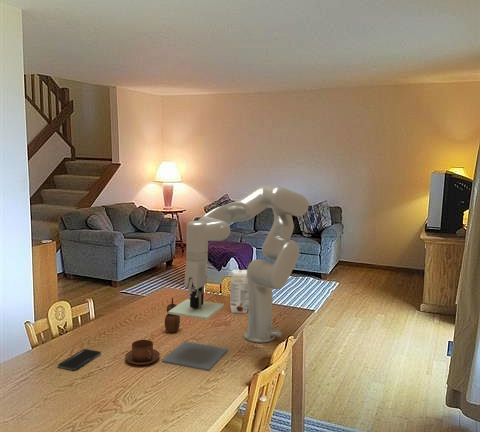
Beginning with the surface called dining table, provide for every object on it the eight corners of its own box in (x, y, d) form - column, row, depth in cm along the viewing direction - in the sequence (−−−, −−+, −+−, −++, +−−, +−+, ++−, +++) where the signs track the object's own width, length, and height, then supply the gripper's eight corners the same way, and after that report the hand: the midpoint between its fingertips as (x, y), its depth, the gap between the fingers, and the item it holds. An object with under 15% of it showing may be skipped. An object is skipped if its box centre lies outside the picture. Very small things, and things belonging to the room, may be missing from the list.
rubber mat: (228, 350, 183) (228, 348, 183) (209, 370, 166) (209, 369, 166) (184, 342, 189) (184, 341, 189) (162, 361, 172) (162, 360, 172)
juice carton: (248, 313, 223) (249, 273, 220) (229, 313, 223) (230, 273, 220) (248, 308, 230) (249, 269, 227) (230, 308, 230) (231, 268, 228)
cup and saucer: (166, 358, 175) (166, 342, 174) (143, 371, 165) (143, 353, 164) (142, 350, 181) (141, 334, 181) (117, 362, 171) (117, 345, 170)
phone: (56, 365, 166) (84, 348, 180) (56, 368, 166) (84, 351, 180) (75, 369, 163) (102, 351, 177) (75, 372, 163) (102, 354, 177)
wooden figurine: (176, 334, 196) (176, 298, 194) (162, 333, 198) (162, 297, 195) (181, 328, 203) (181, 293, 201) (168, 327, 204) (168, 292, 202)
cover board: (223, 306, 179) (224, 288, 178) (207, 319, 165) (207, 300, 164) (186, 301, 184) (186, 283, 183) (168, 313, 170) (168, 294, 169)
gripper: (197, 250, 181) (196, 298, 184) (176, 259, 165) (176, 311, 168) (215, 252, 178) (215, 300, 181) (197, 262, 163) (196, 314, 166)
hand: (196, 305), depth 175 cm, fingers closed on cover board, 3 cm apart
